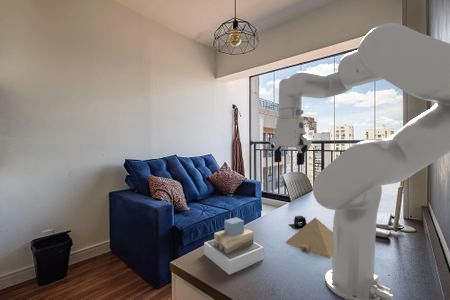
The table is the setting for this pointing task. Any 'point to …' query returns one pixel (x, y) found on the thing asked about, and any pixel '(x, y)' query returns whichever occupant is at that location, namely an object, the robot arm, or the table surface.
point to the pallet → (233, 240)
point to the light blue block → (234, 226)
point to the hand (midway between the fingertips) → (288, 163)
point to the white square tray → (234, 256)
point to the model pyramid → (314, 239)
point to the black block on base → (298, 222)
